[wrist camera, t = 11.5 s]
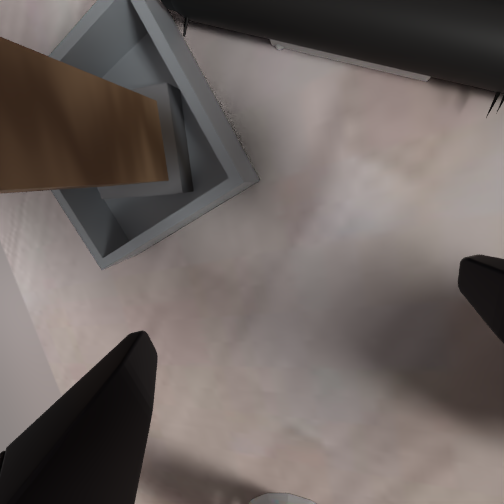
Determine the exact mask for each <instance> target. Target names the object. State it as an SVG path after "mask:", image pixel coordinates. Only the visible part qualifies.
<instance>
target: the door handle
mask: <svg viewBox="0 0 504 504" xmlns="http://www.w3.org/2000/svg"><path fill="white" fill-rule="evenodd" d="M161 2H162V3H163V5H164V6H165V7H166V8H167V9H169V10H173V11H177V12H178V13H179V14H180V15H181V16H183V17H184V18H185V22H184V27H185V28H184V29H183V31H184V33H183V36H184V37H185V35H186V30H187V25H188V20H190V21H194V22H198V23H203V24H207V25H211V26H216V27H220V28H224V29H229V30H233V31H237V32H241V33H246V34H250V35H254V36H259V37H263V38H267V39H270V41H271V44H272V46H275V47H276V49H277V50H282V49H284V48H285V49H289V50H293V51H298V52H302V53H306V54H310V55H315V56H319V57H323V58H327V59H332V60H336V61H340V62H344V63H349V64H353V65H357V66H361V67H366V68H370V69H374V70H379V71H383V72H387V73H391V74H396V75H400V76H404V77H408V78H413V79H417V80H421V81H425V82H427V81H428V80H429V79H430V77H435V78H439V79H443V80H448V81H452V82H456V83H461V84H465V85H469V86H474V87H478V88H482V89H486V90H491V91H495V92H496V95H495V97H494V100H493V102H492V105H491V107H490V110H489V112H490V111H491V109H492V107H493V105H494V104H495V102H496V100H497V98H498V97H499V95H500V93H504V0H161ZM503 101H504V96H503V98H502V101H501V103H500V106H501V105H502V103H503ZM500 106H499V108H500ZM499 108H498V110H499ZM489 112H488V114H489ZM497 112H498V111H497ZM488 114H487V116H488ZM486 118H487V117H486Z"/></svg>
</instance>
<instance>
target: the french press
mask: <svg viewBox="0 0 504 504" xmlns="http://www.w3.org/2000/svg"><path fill="white" fill-rule="evenodd" d="M249 504H316V503H314V502H313V501H311V500H308V499H305V498H302V497H298V496H295V495H292V494H289V493H266V494H264V495H261V496H259V497H256V498H254V499H252V500H251V501H250V502H249Z"/></svg>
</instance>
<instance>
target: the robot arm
mask: <svg viewBox="0 0 504 504" xmlns="http://www.w3.org/2000/svg"><path fill="white" fill-rule="evenodd" d="M458 287H459V289H460V291H461V293H462V294H463V295H464V296H465V298H466V299H467V300H468V301H469V302H470V304H471V305H472V306H473V307H474V309H475V310H476V311H477V312H478V314H479V315H480V316H481V317H482V319H483V320H484V321H485V322H486V323H487V325H488V326H489V327H490V328H491V330H492V331H493V332H494V333H495V334H496V335H497V337H498V338H499V339H500V340H501V341H502V342H503V343H504V259H501V258H495V257H490V256H485V255H473V256H469V257H465V258H463V259H462V260H461V262H460V268H459V276H458ZM156 370H157V352H156V349H155V347H154V345H153V343H152V341H151V340H150V338H149V336H148V334H147V333H146V332H145V331H138V332H134V333H131V334H129V335H128V336H127V337H126V338H124V339H123V340H122V341H121V342H120V343H119V344H118V345H117V346H116V347H115V348H114V349H113V350H111V351H110V352H109V353H108V354H107V355H106V356H105V357H104V358H103V359H102V360H101V361H100V362H99V363H97V364H96V365H95V366H94V367H93V368H92V369H91V370H90V371H89V372H88V373H87V374H86V375H84V376H83V377H82V378H81V379H80V380H79V381H78V382H77V383H76V384H75V385H74V386H73V387H71V388H70V389H69V390H68V391H67V392H66V393H65V394H64V395H63V396H62V397H61V398H60V399H58V400H57V401H56V402H55V403H54V404H53V405H52V406H51V407H50V408H49V409H48V410H47V411H46V412H44V413H43V414H42V415H41V416H40V417H39V418H38V419H37V420H36V421H35V422H34V423H33V424H31V426H29V427H28V428H27V429H26V430H25V431H24V432H23V433H22V434H21V435H20V436H18V438H16V439H15V440H14V441H13V442H12V443H11V444H10V445H9V446H8V447H7V448H6V451H2V452H1V453H0V504H134V503H135V498H136V493H137V488H138V483H139V478H140V473H141V468H142V463H143V458H144V453H145V448H146V443H147V438H148V433H149V428H150V423H151V417H152V411H153V403H154V392H155V381H156Z"/></svg>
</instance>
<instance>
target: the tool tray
mask: <svg viewBox="0 0 504 504" xmlns="http://www.w3.org/2000/svg"><path fill="white" fill-rule="evenodd" d="M48 57H51V58H53V59H56V60H58V61H61V62H63V63H66V64H68V65H71V66H73V67H75V68H78V69H80V70H83V71H85V72H88V73H90V74H93V75H95V76H97V77H100V78H102V79H105V80H107V81H110V82H112V83H115V84H117V85H119V86H122V87H124V88H127V89H129V90H131V89H136V88H141V87H146V86H151V85H156V84H162V83H169V84H171V85H172V86H174V87H176V88H178V89H180V92H181V100H182V107H183V115H184V122H185V130H186V137H187V145H188V152H189V160H190V167H191V175H192V182H193V190H194V191H193V192H187V193H177V194H164V195H152V196H139V197H126V198H113V199H101V196H100V191H99V187H88V188H73V189H58V190H51V191H52V193H53V195H54V196H55V198H56V199H57V201H58V202H59V204H60V206H61V207H62V209H63V210H64V212H65V213H66V215H67V216H68V218H69V220H70V221H71V223H72V224H73V226H74V227H75V229H76V231H77V232H78V234H79V235H80V237H81V238H82V240H83V242H84V243H85V245H86V246H87V248H88V249H89V251H90V253H91V254H92V256H93V257H94V259H95V260H96V262H97V264H98V265H99V267H100V268H101V270H103V269H106V268H108V267H110V266H113V265H115V264H117V263H120V262H122V261H124V260H126V259H129V258H131V257H133V256H136V255H138V254H139V253H141V252H143V251H144V250H146V249H148V248H149V247H151V246H152V245H154V244H156V243H157V242H159V241H161V240H162V239H164V238H166V237H167V236H169V235H171V234H172V233H174V232H176V231H177V230H179V229H181V228H182V227H184V226H185V225H187V224H189V223H190V222H192V221H194V220H195V219H197V218H199V217H200V216H202V215H204V214H205V213H207V212H209V211H210V210H212V209H214V208H215V207H217V206H219V205H220V204H222V203H223V202H225V201H227V200H228V199H230V198H232V197H233V196H235V195H237V194H238V193H240V192H242V191H243V190H245V189H247V188H248V187H250V186H252V185H253V184H255V183H256V182H258V181H260V179H259V177H258V175H257V173H256V172H255V170H254V168H253V166H252V164H251V162H250V161H249V159H248V157H247V155H246V153H245V151H244V149H243V148H242V146H241V144H240V142H239V140H238V138H237V136H236V135H235V133H234V131H233V129H232V127H231V125H230V124H229V122H228V120H227V118H226V116H225V114H224V112H223V111H222V109H221V107H220V105H219V103H218V101H217V99H216V98H215V96H214V94H213V92H212V90H211V88H210V86H209V85H208V83H207V81H206V79H205V77H204V75H203V74H202V72H201V70H200V68H199V66H198V64H197V62H196V61H195V59H194V57H193V55H192V53H191V51H190V49H189V48H188V46H187V44H186V42H185V40H184V38H183V37H182V35H181V33H180V31H179V29H178V27H177V25H176V24H175V22H174V20H173V18H172V16H171V14H170V12H169V11H168V9H167V8H166V7H165V6H164V5H163V4H162V3H161V2H160V1H159V0H97V1H96V3H95V4H94V5H93V6H92V7H91V8H90V9H89V11H88V12H87V13H86V14H85V15H84V16H83V17H82V19H81V20H80V21H79V22H78V23H77V24H76V25H75V27H74V28H73V29H72V30H71V31H70V32H69V33H68V35H67V36H66V37H65V38H64V39H63V40H62V41H61V43H60V44H59V45H58V46H57V47H56V48H55V49H54V50H53V52H52V53H51V54H50V55H49V56H48Z"/></svg>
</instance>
